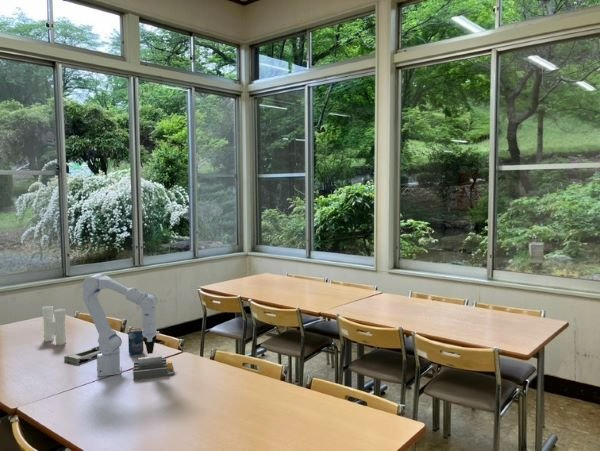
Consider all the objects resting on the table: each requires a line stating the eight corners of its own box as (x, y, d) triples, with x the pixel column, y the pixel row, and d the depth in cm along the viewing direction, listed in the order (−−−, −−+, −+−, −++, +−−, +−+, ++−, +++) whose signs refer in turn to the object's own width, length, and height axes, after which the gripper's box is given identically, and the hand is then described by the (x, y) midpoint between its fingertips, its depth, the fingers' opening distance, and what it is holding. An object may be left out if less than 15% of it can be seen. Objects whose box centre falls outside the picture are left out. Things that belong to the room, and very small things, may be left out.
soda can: (134, 357, 229) (133, 332, 228) (125, 354, 233) (125, 330, 232) (146, 353, 234) (145, 329, 233) (138, 350, 238) (137, 327, 238)
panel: (138, 372, 206) (138, 359, 206) (138, 371, 208) (138, 358, 207) (162, 369, 209) (162, 356, 209) (162, 368, 211) (162, 355, 210)
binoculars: (41, 340, 256) (40, 307, 255) (51, 337, 261) (50, 305, 260) (58, 345, 247) (57, 311, 245) (68, 342, 251) (67, 309, 250)
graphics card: (63, 356, 222) (107, 341, 244) (64, 363, 223) (108, 347, 245) (78, 359, 218) (121, 344, 240) (78, 366, 218) (121, 350, 240)
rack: (133, 380, 200) (133, 370, 200) (134, 369, 212) (133, 361, 212) (173, 375, 206) (173, 366, 205) (172, 365, 217) (171, 357, 217)
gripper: (159, 326, 201) (160, 357, 202) (158, 317, 215) (159, 347, 216) (141, 327, 199) (142, 359, 200) (142, 319, 213) (142, 348, 214)
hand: (150, 353), depth 208 cm, fingers closed
